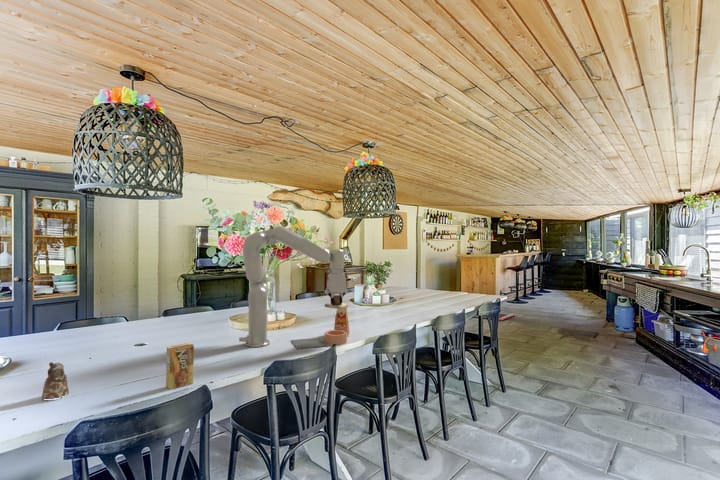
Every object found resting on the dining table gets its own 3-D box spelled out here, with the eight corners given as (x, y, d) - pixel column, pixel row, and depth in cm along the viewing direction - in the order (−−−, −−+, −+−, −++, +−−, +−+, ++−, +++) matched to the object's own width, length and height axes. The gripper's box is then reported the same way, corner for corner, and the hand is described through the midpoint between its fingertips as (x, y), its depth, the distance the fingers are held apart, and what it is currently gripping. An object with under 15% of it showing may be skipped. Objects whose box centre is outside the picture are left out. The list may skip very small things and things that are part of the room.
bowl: (328, 345, 199) (328, 336, 199) (322, 339, 210) (322, 331, 210) (349, 343, 204) (349, 334, 204) (342, 338, 215) (342, 329, 215)
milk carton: (348, 336, 218) (349, 302, 218) (332, 336, 218) (333, 302, 218) (349, 332, 227) (350, 299, 227) (334, 332, 228) (334, 299, 227)
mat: (297, 349, 192) (297, 348, 192) (291, 341, 207) (291, 340, 207) (327, 346, 198) (327, 345, 198) (319, 338, 213) (319, 337, 213)
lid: (328, 308, 198) (328, 298, 198) (321, 304, 210) (321, 294, 210) (351, 307, 203) (351, 296, 203) (343, 303, 215) (343, 293, 215)
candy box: (189, 380, 149) (189, 342, 149) (193, 383, 146) (194, 344, 146) (165, 386, 142) (166, 346, 142) (169, 390, 140) (170, 349, 139)
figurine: (50, 402, 128) (50, 367, 128) (37, 399, 130) (37, 364, 130) (72, 394, 134) (73, 361, 134) (60, 391, 137) (60, 358, 137)
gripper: (324, 272, 200) (323, 306, 200) (353, 271, 206) (352, 305, 206) (320, 271, 207) (320, 304, 207) (348, 270, 213) (348, 302, 213)
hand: (336, 304), depth 207 cm, fingers closed on lid, 3 cm apart
